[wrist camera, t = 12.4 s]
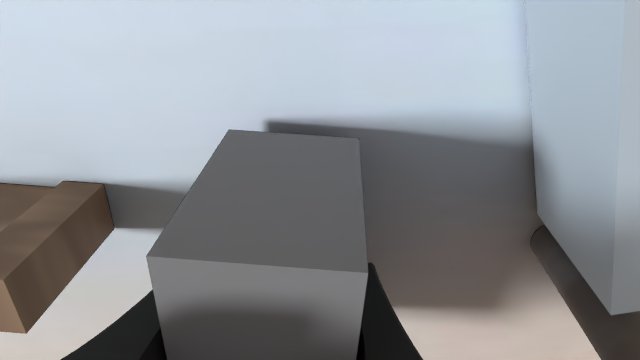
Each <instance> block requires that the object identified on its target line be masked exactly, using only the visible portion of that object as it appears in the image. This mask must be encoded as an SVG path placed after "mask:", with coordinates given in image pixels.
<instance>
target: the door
mask: <svg viewBox="0 0 640 360" xmlns="http://www.w3.org/2000/svg"><path fill="white" fill-rule="evenodd" d="M524 3H525V19H526V36H527V52H528V68H529V84H530V101H531V117H532V133H533V149H534V165H535V182H536V198H537V214H538V216H539V217H540V219H541V220H542V221H543V223H544V224H545V226H546V227H547V228H548V230H549V231H550V232H551V234H552V235H553V237H554V238H555V239H556V241H557V242H558V243H559V245H560V246H561V247H562V249H563V250H564V252H565V253H566V254H567V256H568V257H569V258H570V260H571V261H572V263H573V264H574V265H575V267H576V268H577V269H578V271H579V272H580V274H581V275H582V276H583V278H584V279H585V280H586V282H587V283H588V284H589V286H590V287H591V289H592V290H593V291H594V293H595V294H596V295H597V297H598V298H599V300H600V301H601V302H602V304H603V305H604V306H605V308H606V309H607V310H608V312H609V313H610V315H616V314H623V313H629V312H636V311H640V0H524Z"/></svg>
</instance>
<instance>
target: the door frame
mask: <svg viewBox="0 0 640 360" xmlns="http://www.w3.org/2000/svg"><path fill="white" fill-rule="evenodd" d="M113 230H114V226H113V221H112V217H111V213H110V209H109V205H108V200H107V196H106V192H105V188H104V184H97V183H83V182H69V181H62V182H61V183H60V184H59V185H58V186H56V187H42V186H28V185H15V184H1V183H0V331H1V332H13V333H25V334H27V332H28V331H29V330H30V329H31V328H32V326H33V325H34V324H35V323H36V322H37V320H38V319H39V318H40V317H41V316H42V314H43V313H44V312H45V311H46V310H47V308H48V307H49V306H50V305H51V304H52V302H53V301H54V300H55V299H56V298H57V297H58V295H59V294H60V293H61V292H62V291H63V289H64V288H65V287H66V286H67V285H68V283H69V282H70V281H71V280H72V279H73V277H74V276H75V275H76V274H77V273H78V271H79V270H80V269H81V268H82V267H83V265H84V264H85V263H86V262H87V261H88V260H89V258H90V257H91V256H92V255H93V254H94V252H95V251H96V250H97V249H98V248H99V246H100V245H101V244H102V243H103V242H104V240H105V239H106V238H107V237H108V236H109V234H110V233H111V232H112V231H113ZM531 248H532V250H533V251H534V253H535V255H536V256H537V258H538V259H539V261H540V262H541V264H542V266H543V267H544V269H545V270H546V272H547V274H548V275H549V277H550V278H551V280H552V282H553V283H554V285H555V286H556V288H557V290H558V291H559V293H560V294H561V296H562V298H563V299H564V301H565V302H566V304H567V306H568V307H569V309H570V310H571V312H572V314H573V315H574V317H575V318H576V320H577V321H578V323H579V325H580V326H581V328H582V329H583V331H584V333H585V334H586V336H587V337H588V339H589V341H590V342H591V344H592V345H593V347H594V349H595V350H596V352H597V353H598V355H599V357H600V358H601V360H640V311H636V312H629V313H623V314H616V315H610V313H609V312H608V310H607V309H606V308H605V306H604V305H603V304H602V302H601V301H600V300H599V298H598V297H597V295H596V294H595V293H594V291H593V290H592V289H591V287H590V286H589V284H588V283H587V282H586V280H585V279H584V278H583V276H582V275H581V274H580V272H579V271H578V269H577V268H576V267H575V265H574V264H573V263H572V261H571V260H570V258H569V257H568V256H567V254H566V253H565V252H564V250H563V249H562V247H561V246H560V245H559V243H558V242H557V241H556V239H555V238H554V237H553V235H552V234H551V232H550V231H549V230H548V228H547V227H546V226H545V225H544V226H542V227H540V228H539V229H538V230H537V231H536V232H535V233H534V234H533V236H532V238H531Z"/></svg>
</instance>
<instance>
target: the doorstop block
mask: <svg viewBox="0 0 640 360" xmlns="http://www.w3.org/2000/svg"><path fill="white" fill-rule="evenodd" d="M146 258H147V263H148V268H149V273H150V278H151V282H152V287H153V292H154V297H155V302H156V307H157V312H158V317H159V322H160V327H161V332H162V337H163V342H164V347H165V352H166V356H167V360H356V356H357V349H358V342H359V335H360V328H361V321H362V314H363V307H364V300H365V292H366V285H367V278H368V262H367V248H366V234H365V219H364V205H363V191H362V176H361V162H360V147H359V138H346V137H331V136H316V135H302V134H287V133H272V132H258V131H243V130H228V132H227V133H226V135H225V136H224V138H223V139H222V141H221V142H220V144H219V146H218V147H217V149H216V150H215V152H214V153H213V155H212V156H211V158H210V159H209V161H208V162H207V164H206V165H205V167H204V168H203V170H202V172H201V173H200V175H199V176H198V178H197V179H196V181H195V182H194V184H193V185H192V187H191V188H190V190H189V191H188V193H187V195H186V196H185V198H184V199H183V201H182V202H181V204H180V205H179V207H178V208H177V210H176V211H175V213H174V214H173V216H172V218H171V219H170V221H169V222H168V224H167V225H166V227H165V228H164V230H163V231H162V233H161V234H160V236H159V237H158V239H157V241H156V242H155V244H154V245H153V247H152V248H151V250H150V251H149V253H148V254H147V256H146Z"/></svg>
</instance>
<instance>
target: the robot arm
mask: <svg viewBox="0 0 640 360" xmlns="http://www.w3.org/2000/svg"><path fill="white" fill-rule="evenodd" d="M61 360H167V356H166V352H165V347H164V342H163V337H162V332H161V327H160V322H159V317H158V312H157V307H156V302H155V297H154V292H153V290H152V291H150V292H149V293H148V294H147V295H146V296H145V297H144V298H143V299H142V300H140V301H139V302H138V303H137V304H136V305H135V306H133V307H132V308H131V309H130V310H129V311H127V312H126V313H125V314H124V315H122V316H121V317H120V318H119V319H118V320H116V321H115V322H114V323H113V324H111V325H110V326H109V327H107V328H106V329H105V330H103V331H102V332H101V333H99V334H98V335H97V336H95V337H94V338H93V339H91V340H90V341H88V342H87V343H86V344H84V345H83V346H81V347H80V348H78V349H77V350H75V351H74V352H72V353H70V354H69V355H67V356H66V357H64V358H62V359H61ZM356 360H423V359H422V357H421V356H420V354H419V353H418V351H417V350H416V348H415V347H414V345H413V343H412V342H411V340H410V338H409V337H408V335H407V333H406V332H405V330H404V328H403V327H402V325H401V323H400V321H399V319H398V317H397V316H396V314H395V312H394V310H393V308H392V306H391V304H390V302H389V300H388V298H387V296H386V294H385V291H384V289H383V287H382V285H381V282H380V280H379V277H378V275H377V272H376V269H375V266H374V265H373V264H372V263H369V262H368V278H367V285H366V292H365V300H364V307H363V314H362V321H361V328H360V335H359V342H358V349H357V356H356Z"/></svg>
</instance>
